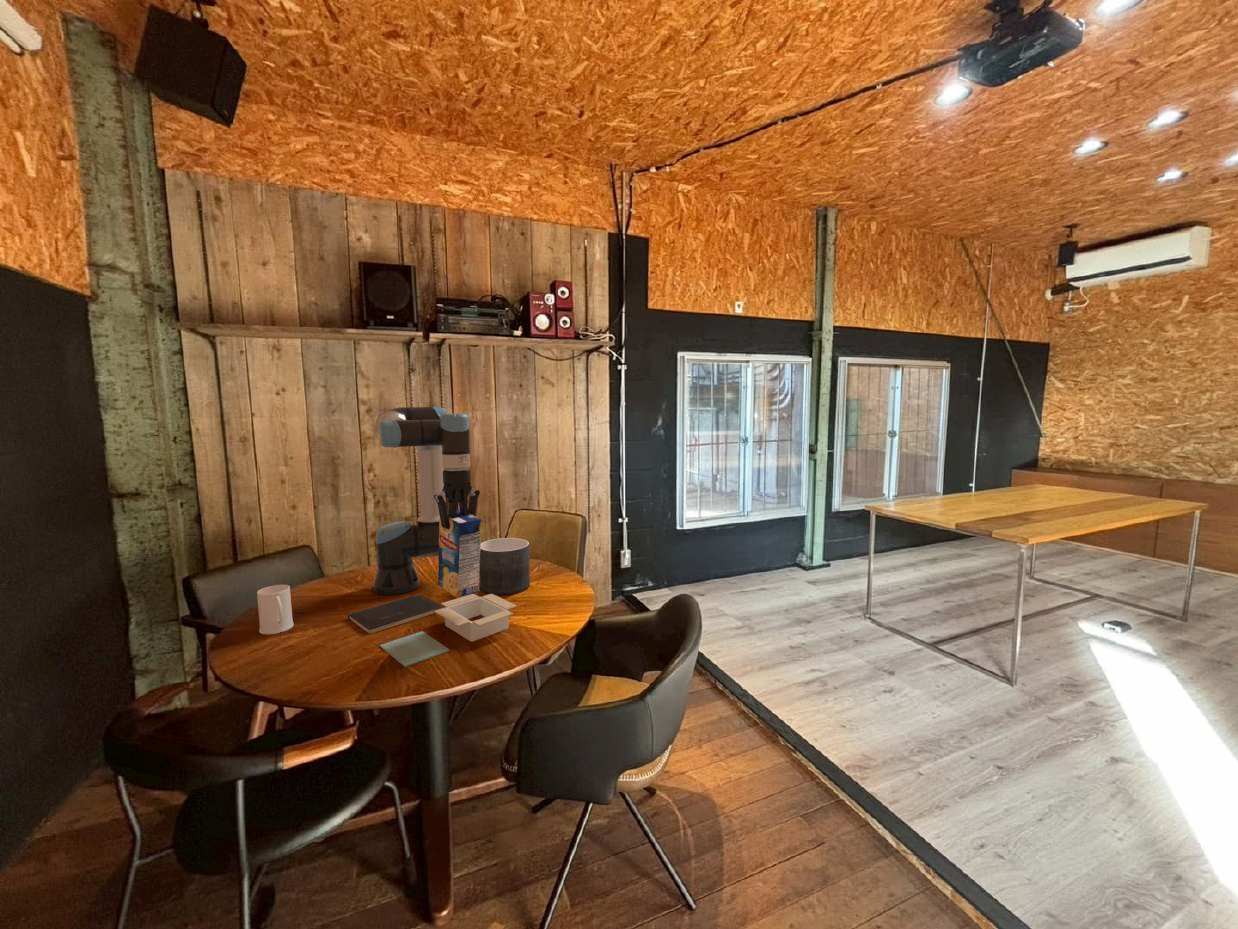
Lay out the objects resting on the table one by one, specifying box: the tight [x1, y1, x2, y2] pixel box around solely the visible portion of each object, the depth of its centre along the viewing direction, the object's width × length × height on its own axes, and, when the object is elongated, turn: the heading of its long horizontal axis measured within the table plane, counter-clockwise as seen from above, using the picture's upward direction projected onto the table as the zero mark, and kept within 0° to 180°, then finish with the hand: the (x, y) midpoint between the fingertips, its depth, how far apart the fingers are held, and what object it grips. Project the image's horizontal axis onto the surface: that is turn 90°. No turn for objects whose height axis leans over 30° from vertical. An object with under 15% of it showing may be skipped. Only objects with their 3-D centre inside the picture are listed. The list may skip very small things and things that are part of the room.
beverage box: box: [437, 509, 483, 599], centre depth 147 cm, size 7×11×22 cm, turn 47°
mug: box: [256, 584, 295, 635], centre depth 150 cm, size 12×8×12 cm
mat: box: [379, 630, 450, 668], centre depth 140 cm, size 16×12×1 cm
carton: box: [434, 593, 518, 643], centre depth 153 cm, size 22×19×6 cm
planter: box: [479, 537, 531, 596], centre depth 186 cm, size 18×18×16 cm
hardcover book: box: [347, 593, 444, 635], centre depth 162 cm, size 16×23×2 cm
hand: (459, 550), depth 147 cm, fingers closed on beverage box, 2 cm apart
